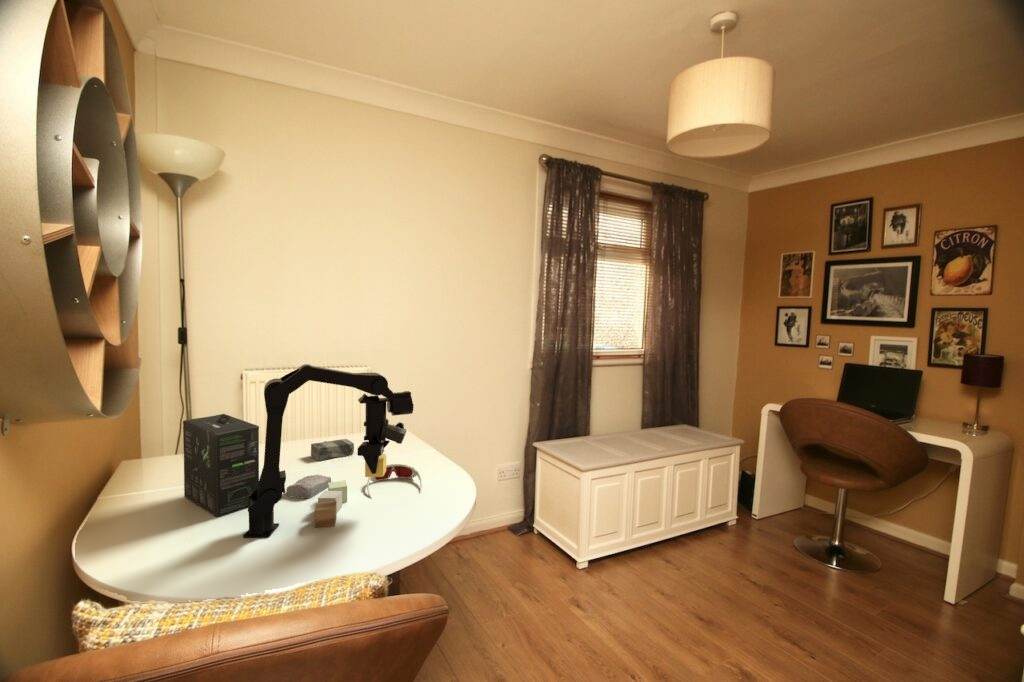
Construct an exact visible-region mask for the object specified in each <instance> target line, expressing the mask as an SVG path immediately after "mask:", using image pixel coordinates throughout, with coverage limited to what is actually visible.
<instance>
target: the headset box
mask: <svg viewBox="0 0 1024 682" xmlns="http://www.w3.org/2000/svg"><path fill="white" fill-rule="evenodd" d="M182 430H183V439H182V441H183V477H184V478H183V492H184V493H183V495H184V498H186V499H188V500H190V501H191V502H193V503H194V504H195V505H197V506H199V507H200V508H202V509H203V510H205V511H207V512H208V513H210V514H211V515H213V516H215V517H216V518H221V517H223V516H227V515H230V514H233V513H236V512H239V511H242V510H245V509H248V501H249V496H250V495H251V494H252V493H253V492H254V491H255V490H256V489H257V487H258V483H259V479H260V451H259V450H260V448H259V447H260V445H259V444H260V441H259V440H260V426H259V425H257V424H254V423H250V422H248V421H245V420H243V419H240V418H237V417H233V416H231V415H229V414H225V413H221V414H215V415H211V416H205V417H204V416H203V417H198V418H191V419H185V420H182Z"/></svg>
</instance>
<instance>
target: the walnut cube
mask: <svg viewBox="0 0 1024 682" xmlns="http://www.w3.org/2000/svg"><path fill="white" fill-rule="evenodd" d="M337 514H338V513H337V501H331V502H320V503H318V502H316V506H315V509H314V529H324V528H332V527H334V528H335V527H336V524H337V523H336V522H337Z"/></svg>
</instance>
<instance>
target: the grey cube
mask: <svg viewBox="0 0 1024 682" xmlns="http://www.w3.org/2000/svg"><path fill="white" fill-rule="evenodd" d="M331 501H337V514H339V512H340V511H341V509H342V508H343V503H342V491H328V490H323V491H322V492H321V494H320V495H319V496H318V497H317V503H320V502H331Z"/></svg>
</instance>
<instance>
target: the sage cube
mask: <svg viewBox="0 0 1024 682" xmlns="http://www.w3.org/2000/svg"><path fill="white" fill-rule="evenodd" d="M347 484H348V483H347V481H346V480H338V481H331V482H330V483H328V488H327V489H328V490H327V491H342V504H344V503H347V502H348V485H347Z"/></svg>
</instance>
